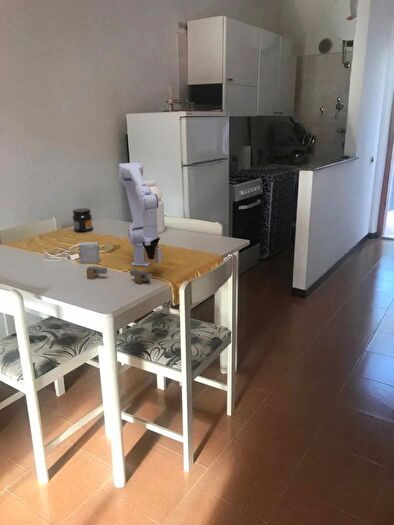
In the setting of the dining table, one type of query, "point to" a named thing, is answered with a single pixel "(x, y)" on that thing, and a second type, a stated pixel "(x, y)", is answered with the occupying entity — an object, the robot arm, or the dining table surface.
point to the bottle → (160, 208)
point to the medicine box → (89, 252)
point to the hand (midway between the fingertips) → (152, 257)
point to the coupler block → (156, 256)
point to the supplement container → (82, 220)
